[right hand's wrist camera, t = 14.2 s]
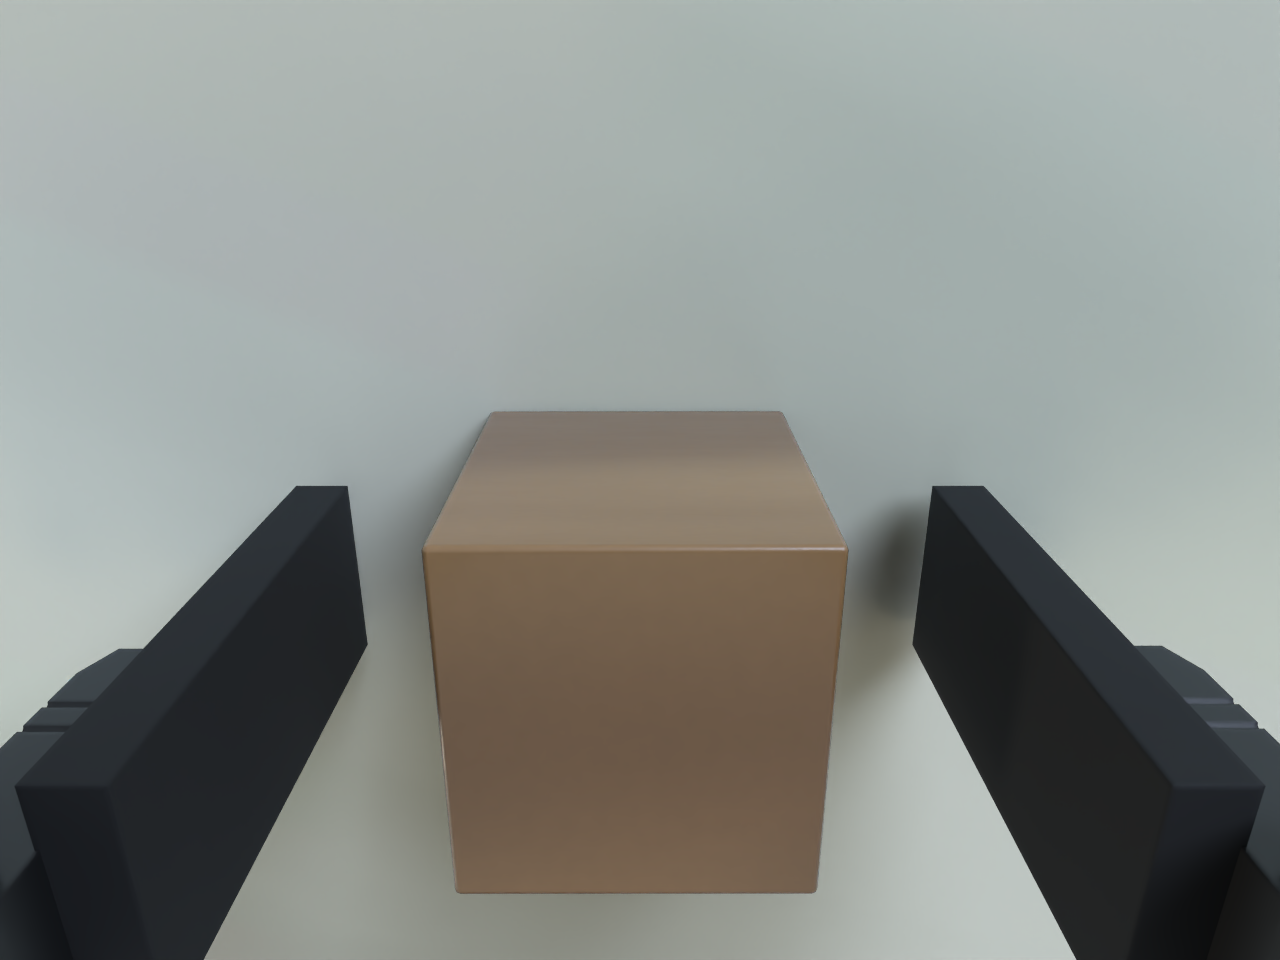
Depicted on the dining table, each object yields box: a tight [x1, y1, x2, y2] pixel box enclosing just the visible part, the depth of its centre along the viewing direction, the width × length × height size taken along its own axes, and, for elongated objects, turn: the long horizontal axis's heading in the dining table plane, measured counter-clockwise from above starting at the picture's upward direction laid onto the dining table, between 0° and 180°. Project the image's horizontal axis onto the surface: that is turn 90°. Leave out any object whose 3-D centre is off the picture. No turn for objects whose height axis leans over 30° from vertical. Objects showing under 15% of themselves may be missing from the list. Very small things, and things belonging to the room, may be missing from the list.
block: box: [422, 411, 848, 894], centre depth 12 cm, size 5×4×5 cm
